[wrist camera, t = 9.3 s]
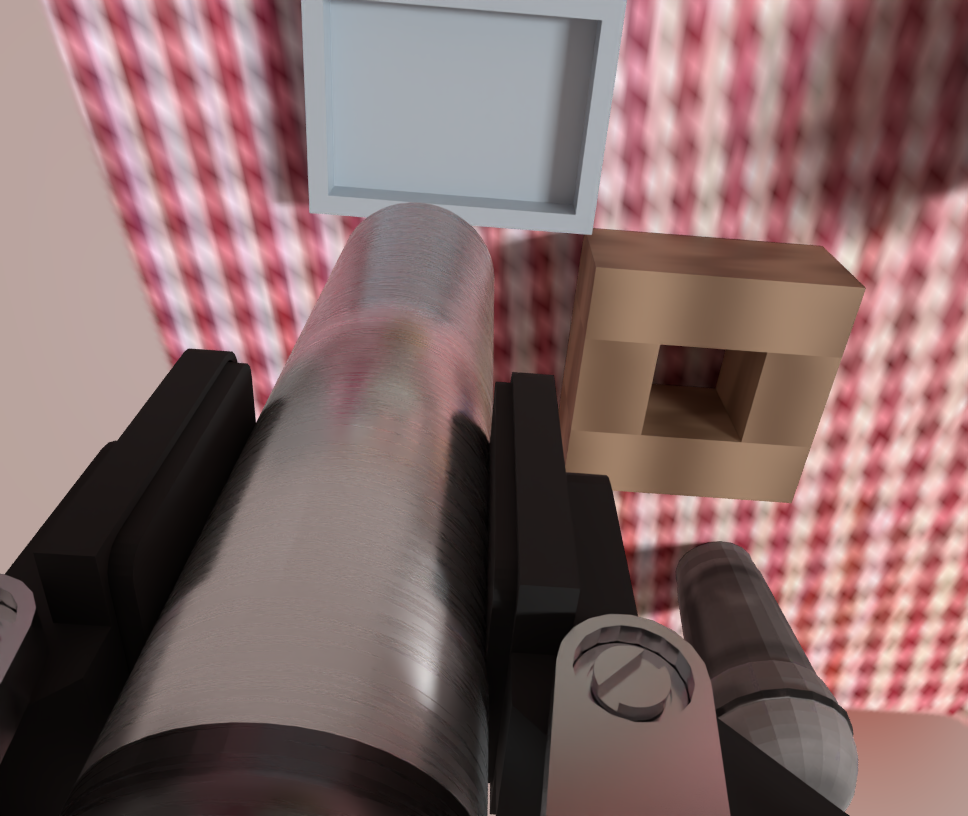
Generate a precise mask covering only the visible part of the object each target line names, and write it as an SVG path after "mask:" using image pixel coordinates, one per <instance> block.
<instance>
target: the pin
mask: <svg viewBox="0 0 968 816" xmlns="http://www.w3.org/2000/svg"><path fill="white" fill-rule="evenodd" d="M493 337H494V269H493V263H492V260H491V256H490V253H489V251H488V249H487V246H486V245H485V243H484V241H483V240H482V238H481V237H480V235H479V234H478V233H477V232H476V230H475V229H474V228H473V227H472V226H471V225H470V224H469V223H468V222H466V221H465V220H464V219H462V218H461V217H460V216H458V215H456V214H455V213H453V212H451V211H449V210H447V209H444V208H442V207H439V206H436V205H432V204H427V203H420V202H408V203H399V204H395V205H391V206H388V207H385V208H383V209H380V210H378V211H376V212H375V213H373V214H371V215H370V216H368V217H367V218H366V219H365V220H363V221H362V222H361V223H360V224H359V225H358V226H357V227H356V228H355V230H354V231H353V233H352V234H351V235H350V237H349V239H348V241H347V243H346V245H345V247H344V249H343V251H342V253H341V255H340V257H339V259H338V261H337V263H336V265H335V267H334V269H333V271H332V273H331V275H330V277H329V279H328V281H327V283H326V285H325V287H324V289H323V291H322V293H321V295H320V297H319V299H318V300H317V302H316V304H315V306H314V308H313V310H312V312H311V314H310V316H309V318H308V320H307V322H306V324H305V326H304V328H303V330H302V332H301V334H300V336H299V338H298V340H297V342H296V344H295V346H294V348H293V350H292V352H291V354H290V356H289V358H288V360H287V362H286V364H285V366H284V368H283V370H282V372H281V374H280V376H279V378H278V380H277V382H276V384H275V386H274V388H273V390H272V392H271V394H270V396H269V398H268V400H267V402H266V404H265V406H264V408H263V410H262V412H261V414H260V416H259V418H258V420H257V422H256V424H255V426H254V428H253V430H252V432H251V434H250V436H249V438H248V440H247V442H246V444H245V446H244V448H243V450H242V452H241V454H240V456H239V458H238V460H237V462H236V464H235V466H234V468H233V470H232V472H231V474H230V476H229V478H228V480H227V482H226V484H225V486H224V488H223V490H222V492H221V494H220V496H219V498H218V500H217V502H216V504H215V506H214V508H213V510H212V512H211V514H210V516H209V518H208V520H207V522H206V524H205V526H204V528H203V530H202V532H201V534H200V536H199V538H198V540H197V542H196V544H195V546H194V548H193V550H192V552H191V554H190V556H189V558H188V560H187V562H186V564H185V566H184V568H183V570H182V572H181V574H180V576H179V578H178V580H177V582H176V584H175V586H174V588H173V590H172V592H171V594H170V596H169V598H168V600H167V602H166V604H165V606H164V608H163V610H162V612H161V614H160V616H159V618H158V620H157V622H156V624H155V626H154V628H153V630H152V632H151V634H150V636H149V638H148V640H147V642H146V644H145V646H144V648H143V650H142V652H141V654H140V656H139V658H138V660H137V662H136V664H135V666H134V668H133V670H132V672H131V674H130V676H129V678H128V680H127V682H126V684H125V686H124V688H123V690H122V692H121V694H120V696H119V698H118V700H117V702H116V704H115V706H114V708H113V710H112V712H111V714H110V716H109V718H108V720H107V722H106V724H105V726H104V728H103V730H102V732H101V734H100V735H99V737H98V739H97V741H96V743H95V745H94V747H93V749H92V751H91V753H90V755H89V757H88V759H87V761H86V763H85V765H84V767H83V769H82V771H81V773H80V775H79V777H78V779H77V781H76V783H75V785H74V787H73V789H72V791H71V793H70V795H69V797H68V799H67V801H66V803H65V805H64V807H63V809H62V811H61V813H60V815H59V816H487V804H488V728H489V683H488V677H487V672H486V668H485V664H486V611H487V558H488V505H489V452H490V435H491V424H492V413H493Z"/></svg>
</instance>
